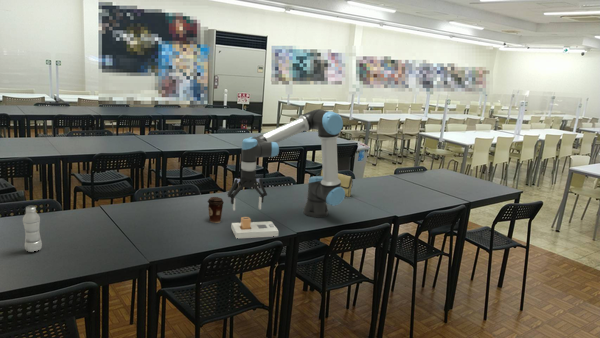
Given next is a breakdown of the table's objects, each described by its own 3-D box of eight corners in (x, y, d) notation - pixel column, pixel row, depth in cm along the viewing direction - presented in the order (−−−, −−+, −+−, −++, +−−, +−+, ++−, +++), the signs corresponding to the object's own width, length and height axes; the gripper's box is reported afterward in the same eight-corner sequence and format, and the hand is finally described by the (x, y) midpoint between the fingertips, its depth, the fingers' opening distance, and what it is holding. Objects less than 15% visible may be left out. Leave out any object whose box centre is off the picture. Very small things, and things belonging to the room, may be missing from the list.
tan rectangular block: (247, 231, 232) (248, 216, 230) (249, 233, 228) (250, 219, 226) (240, 231, 230) (241, 217, 228) (242, 234, 227) (243, 219, 225)
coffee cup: (207, 223, 237) (208, 201, 234) (206, 218, 245) (207, 196, 242) (223, 223, 240) (224, 200, 237) (222, 218, 247) (222, 196, 244)
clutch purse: (313, 189, 320) (315, 169, 317) (319, 187, 326) (321, 168, 322) (347, 199, 302) (349, 178, 299) (353, 197, 307) (355, 177, 304)
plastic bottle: (45, 248, 194) (42, 205, 189) (36, 254, 187) (34, 210, 183) (30, 247, 194) (27, 204, 189) (21, 253, 187) (18, 209, 182)
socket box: (271, 226, 241) (271, 220, 240) (278, 236, 228) (278, 229, 227) (231, 228, 234) (231, 222, 233) (236, 238, 221) (236, 231, 220)
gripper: (270, 167, 229) (268, 205, 234) (222, 167, 221) (221, 207, 226) (274, 170, 222) (272, 210, 227) (225, 171, 214) (223, 212, 219)
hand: (246, 209), depth 226 cm, fingers open, 13 cm apart
